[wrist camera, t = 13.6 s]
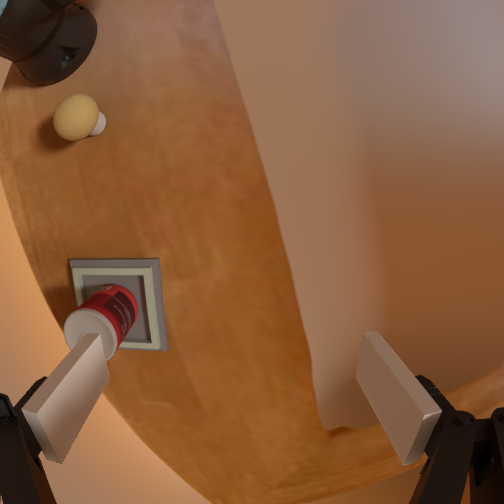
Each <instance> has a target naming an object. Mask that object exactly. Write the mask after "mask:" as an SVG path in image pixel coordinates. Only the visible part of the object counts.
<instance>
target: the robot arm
mask: <svg viewBox="0 0 504 504" xmlns="http://www.w3.org/2000/svg"><path fill="white" fill-rule="evenodd" d="M74 1H76V0H0V56H1V57H3V58H6V59H8V60H10V61H13V62H14V64H15V65H16V66H17V67H18V68H19V70H20V72H21V73H22V75H23V76H24V77H25V78H26V79H27V80H29V81H31V82H34V83H36V84H39V85H50V84H54V83H57V82H59V81H61V80H63V79H65V78H67V77H68V76H69V75H71V74H72V73H73V72H74V71H75V70H77V69H78V68H79V66H80V65H81V64H82V63H83V62H84V61H85V59H86V58H87V56H88V55H89V53H90V51H91V49H92V47H93V45H94V43H95V39H96V35H97V23H96V20H95V18H94V16H93V15H92V14H91V13H90V12H89V10H88V9H86V8H85V7H84V6H82V5H79V4H75V3H72V2H74ZM356 379H357V381H358V383H359V385H360V387H361V388H362V390H363V392H364V394H365V395H366V398H367V399H368V401H369V403H370V405H371V407H372V408H373V410H374V412H375V414H376V416H377V418H378V419H379V421H380V423H381V425H382V427H383V429H384V431H385V433H386V435H387V436H388V438H389V440H390V442H391V444H392V446H393V448H394V450H395V451H396V453H397V455H398V457H399V459H400V461H401V463H402V465H403V466H404V465H408V464H411V463H415V462H418V461H420V459H421V457H422V455H423V453H424V451H425V453H426V454H427V456H428V459H427V461H426V463H425V465H424V467H423V469H422V471H421V473H420V474H421V476H420V479H419V481H418V484H417V486H416V488H415V491H414V493H413V496H412V498H411V500H410V502H409V504H460V503H461V499H462V496H463V492H464V488H465V484H466V479H467V475H468V471H469V479H470V480H469V481H470V502H471V503H470V504H504V407H502V408H497V409H496V410H494V412H493V413H492V415H491V417H490V418H487V419H475V417H474V416H473V415H472V414H470V413H469V412H466V411H459V410H458V411H456V410H455V409H454V407H453V406H452V405H451V404H450V403H449V401H448V400H447V399H446V398H445V397H444V396H443V394H441V392H440V391H439V390H438V389H437V388H436V386H435V385H434V384H433V383H432V382H431V381H430V380H429V379H427V378H426V377H424V376H422V375H418V376H414V375H413V374H412V373H411V371H410V370H409V369H408V368H407V367H406V365H405V364H404V363H403V362H402V361H401V359H400V358H399V357H398V356H397V355H396V353H394V351H393V350H392V349H391V348H390V346H389V345H388V344H387V343H386V342H385V340H384V339H383V338H382V337H381V336H380V334H379V333H378V332H377V331H374V332H363V336H362V343H361V349H360V355H359V361H358V367H357V373H356ZM109 380H110V376H109V372H108V368H107V363H106V359H105V355H104V350H103V346H102V341H101V336H100V334H97V333H87V334H86V335H85V336H84V337H83V338H82V339H81V340H80V341H79V342H78V344H77V345H76V346H75V347H74V348H73V349H72V350H71V351H70V352H69V354H68V355H67V356H66V357H65V358H64V359H63V360H62V362H61V363H60V364H59V365H58V366H57V367H56V369H55V370H54V371H53V372H52V373H51V374H50V375H49V377H43V378H41V379H39V380H38V381H36V382H35V383H34V384H33V386H32V387H31V388H30V389H29V390H28V391H27V392H26V395H24V396H23V397H22V398H21V399H20V401H19V402H18V403H17V404H16V405H15V406H14V407H13V406H12V404H11V402H10V399H9V397H8V396H7V395H5V394H2V393H0V497H1V496H2V500H3V504H57V503H56V501H55V498H54V496H53V493H52V491H51V488H50V485H49V483H48V480H47V477H46V474H45V471H44V469H43V466H42V463H41V460H40V458H39V457H38V455H39V453H40V452H41V450H42V452H43V453H44V455H45V457H46V459H47V460H50V461H54V462H57V463H60V464H62V463H63V461H64V459H65V457H66V455H67V454H68V452H69V450H70V448H71V446H72V444H73V443H74V441H75V439H76V437H77V435H78V433H79V432H80V430H81V428H82V426H83V424H84V423H85V421H86V419H87V417H88V416H89V414H90V412H91V410H92V409H93V407H94V405H95V403H96V401H97V400H98V398H99V396H100V394H101V393H102V391H103V390H104V388H105V386H106V385H107V383H108V381H109Z"/></svg>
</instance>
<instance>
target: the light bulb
mask: <svg viewBox="0 0 504 504" xmlns="http://www.w3.org/2000/svg"><path fill="white" fill-rule="evenodd" d="M53 124H54V128H55V130H56V132H57V133H58V135H59V136H61V137H62V138H63V139H66V140H70V141H76V140H80V139H83V138H85V137H87V136H88V135H91V136H95V135H98V134H100V133H101V132H102V131H103V130H104V128H105V125H106V118H105V116H104V115H103V113H101V112H99V111H98V107H97V104H96V103H95V101H94V100H93V99H92V98H91V97H89V96H88V95H85V94H81V93H76V94H72V95H69V96H68V97H66V98H64V99H63V100H62V101H61V102H60V103H59V104H58V105H57V107H56V108H55V110H54V113H53Z"/></svg>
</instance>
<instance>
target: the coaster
mask: <svg viewBox="0 0 504 504" xmlns="http://www.w3.org/2000/svg"><path fill="white" fill-rule="evenodd" d="M70 268H71V275H72V281H73V288H74V294H75V300H76V305H77V308H78V307H79V306H80V305H81V304H82V303H84V302H85V301H86V300H87V299H88V298H89V297H91V296H92V295H93V294H94V293H95V292H97V291H98V290H99V289H100V288H102V287H104V286H107V285H120V286H123V287H125V288H126V289H128V290H129V291H130V292H131V293H132V294H133V295H134V297H135V299H136V301H137V304H138V316H137V320H136V322H135V323H134V325H133V326H132V328H131V329H130V331H129V332H128V334H127V335H126V337H125V338H124V340H123V341H122V343H121V344H120V346H119V347H118V348H119V349H133V350H151V351H168V340H167V332H166V323H165V314H164V305H163V295H162V284H161V272H160V259H159V258H82V259H71V260H70Z"/></svg>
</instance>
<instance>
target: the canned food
mask: <svg viewBox="0 0 504 504" xmlns="http://www.w3.org/2000/svg"><path fill="white" fill-rule="evenodd" d="M137 316H138V304H137V301H136V299H135V297H134V295H133V294H132V293H131V292H130V291H129V290H128V289H126V288H125V287H123V286H120V285H107V286H104V287H102V288H100V289H99V290H98V291H97V292H95V293H94V294H93V295H92V296H91V297H89V298H88V299H87V300H86V301H85V302H84V303H82V304H81V305H80V306H79V307H78V308H76V309H75V310H74V311H73V312H72V313H71V314H70V315H69V316H68V318H67V319H66V321H65V324H64V336H65V340H66V342H67V345H68V346H69V348H70V349H71V350H72V349H73V348H74V347H75V346H76V345H77V344H78V342H79V341H80V340H81V339H82V338H83V337H84V336H85V335H86V334H87V333H97V334H100V336H101V341H102V346H103V350H104V355H105V359H106V361H107V360H109V359H110V358H111V357H112V356H113V354H114V353H115V352H116V350H117V349H118V347H119V346H120V344H121V343H122V341H123V340H124V338H125V337H126V335H127V334H128V332H129V331H130V329H131V328H132V326H133V325H134V323H135V322H136V320H137Z"/></svg>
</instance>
